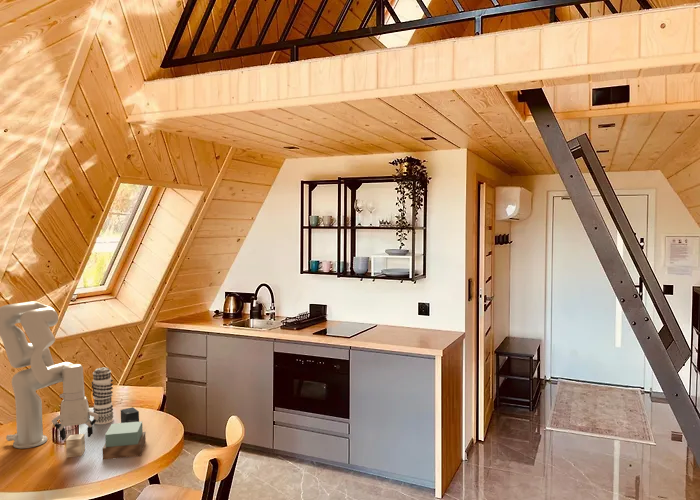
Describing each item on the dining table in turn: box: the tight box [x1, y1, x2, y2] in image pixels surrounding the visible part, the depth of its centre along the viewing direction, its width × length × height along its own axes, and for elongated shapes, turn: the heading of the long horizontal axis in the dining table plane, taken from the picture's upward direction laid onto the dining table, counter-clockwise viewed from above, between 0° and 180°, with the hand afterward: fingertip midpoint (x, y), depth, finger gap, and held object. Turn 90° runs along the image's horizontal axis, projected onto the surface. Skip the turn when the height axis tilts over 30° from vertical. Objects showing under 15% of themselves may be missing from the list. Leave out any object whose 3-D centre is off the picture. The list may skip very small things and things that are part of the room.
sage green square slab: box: [104, 420, 144, 447], centre depth 224 cm, size 12×12×5 cm
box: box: [120, 406, 140, 423], centre depth 242 cm, size 8×6×11 cm
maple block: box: [65, 433, 86, 458], centre depth 222 cm, size 6×6×7 cm
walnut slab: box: [101, 431, 147, 461], centre depth 224 cm, size 14×14×5 cm
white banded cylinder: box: [91, 367, 114, 425], centre depth 258 cm, size 9×9×25 cm
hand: (76, 437), depth 221 cm, fingers open, 9 cm apart
